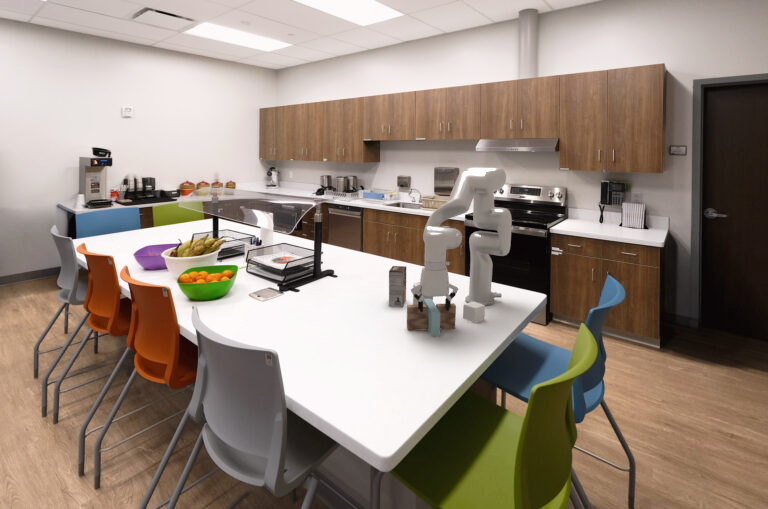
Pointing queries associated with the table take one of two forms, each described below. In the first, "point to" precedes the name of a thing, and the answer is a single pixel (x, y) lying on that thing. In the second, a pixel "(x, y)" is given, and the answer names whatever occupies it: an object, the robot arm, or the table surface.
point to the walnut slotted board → (420, 320)
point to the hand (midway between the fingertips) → (434, 310)
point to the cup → (419, 294)
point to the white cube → (473, 311)
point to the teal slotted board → (432, 318)
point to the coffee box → (397, 286)
